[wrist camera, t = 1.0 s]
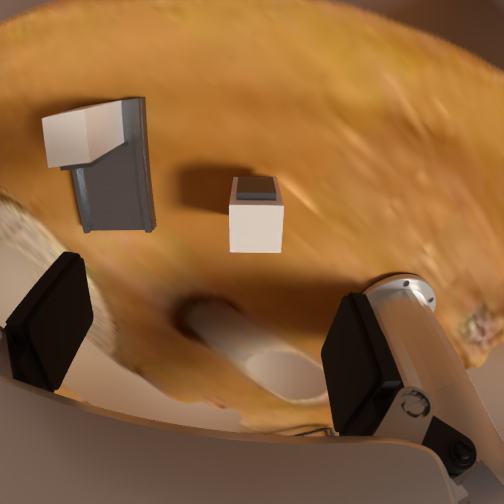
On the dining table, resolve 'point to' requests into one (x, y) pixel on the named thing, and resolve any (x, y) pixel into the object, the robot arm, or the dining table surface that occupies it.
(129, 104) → the grey slab
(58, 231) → the dining table surface
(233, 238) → the white rectangular block
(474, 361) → the dining table surface
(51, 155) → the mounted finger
